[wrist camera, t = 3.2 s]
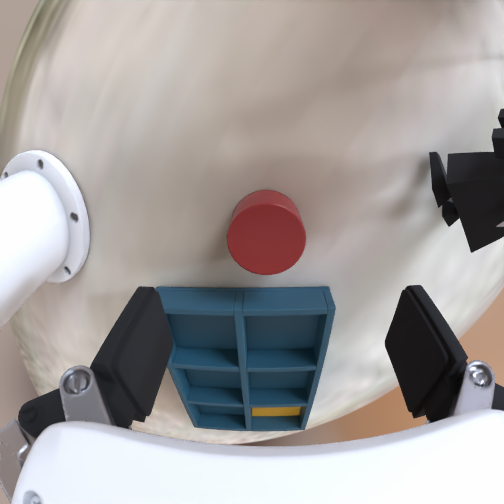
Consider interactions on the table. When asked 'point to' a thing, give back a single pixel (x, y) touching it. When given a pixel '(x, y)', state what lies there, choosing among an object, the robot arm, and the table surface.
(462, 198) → the toy
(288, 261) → the cylinder
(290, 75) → the table surface
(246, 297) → the grid
